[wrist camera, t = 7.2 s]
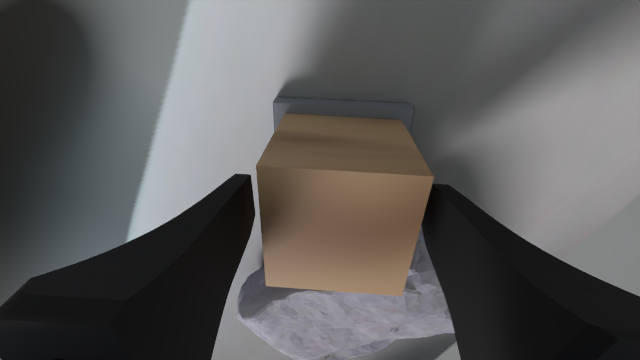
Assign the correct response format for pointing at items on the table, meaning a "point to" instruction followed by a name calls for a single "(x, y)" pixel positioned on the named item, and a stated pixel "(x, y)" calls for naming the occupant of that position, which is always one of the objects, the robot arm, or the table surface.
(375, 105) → the charcoal pad
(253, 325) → the stone block
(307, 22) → the table surface
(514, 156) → the table surface
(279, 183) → the tan cube
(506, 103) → the table surface
